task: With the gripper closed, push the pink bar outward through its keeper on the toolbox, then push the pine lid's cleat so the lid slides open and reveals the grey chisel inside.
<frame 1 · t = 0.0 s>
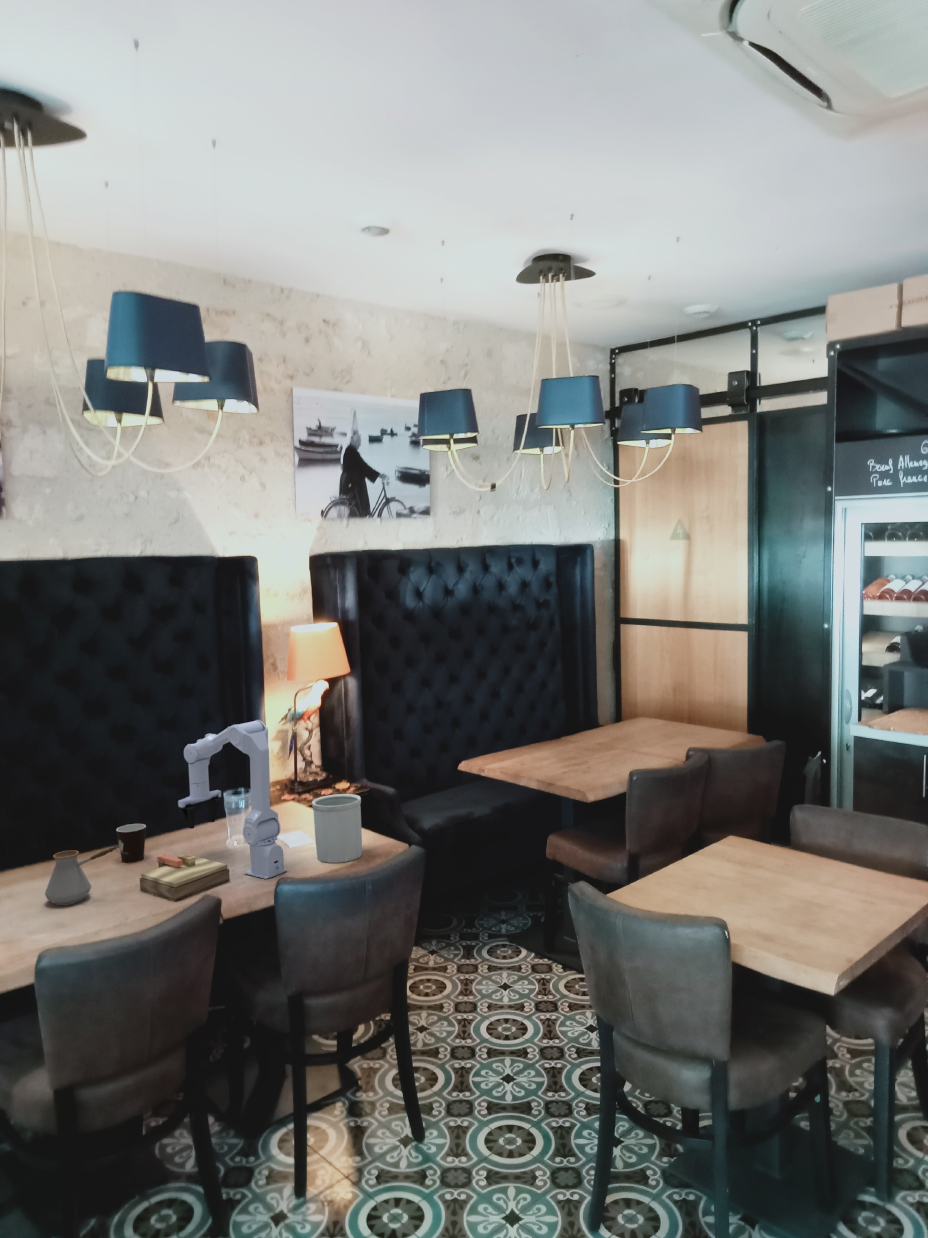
hand: (201, 825, 269), 10 cm above the table, fingers open, 7 cm apart
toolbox: (185, 886, 244), on the table
pink bar: (170, 860, 247), point 6 cm above the table, slide at 0.0 cm
utensil holder: (339, 856, 265), on the table
coffee pot: (86, 901, 236), on the table
coffee mug: (133, 858, 271), on the table
lid: (184, 867, 244), point 5 cm above the table, slide at 0.0 cm
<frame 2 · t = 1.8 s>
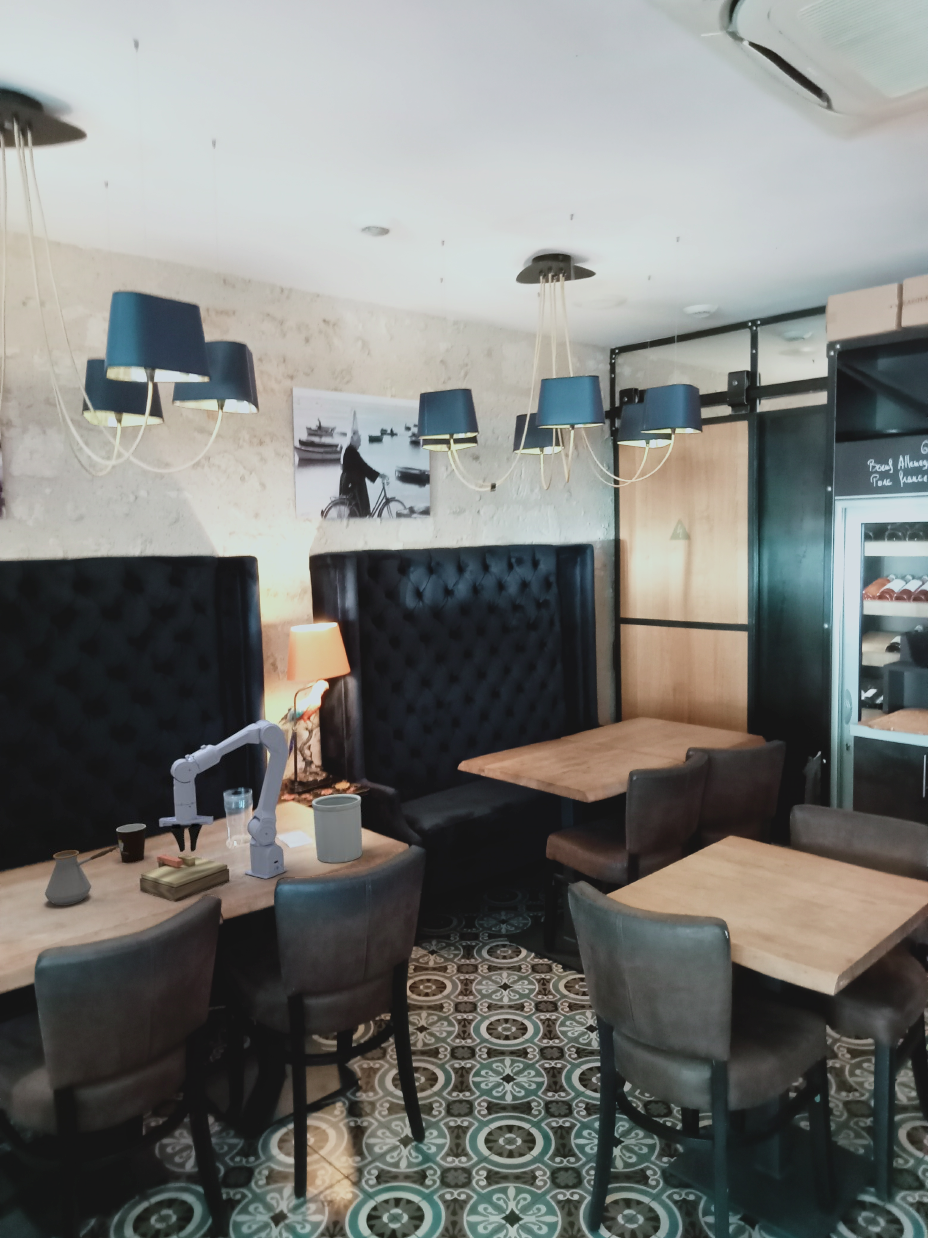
hand: (187, 850, 242), 10 cm above the table, fingers closed
nothing on the table moved.
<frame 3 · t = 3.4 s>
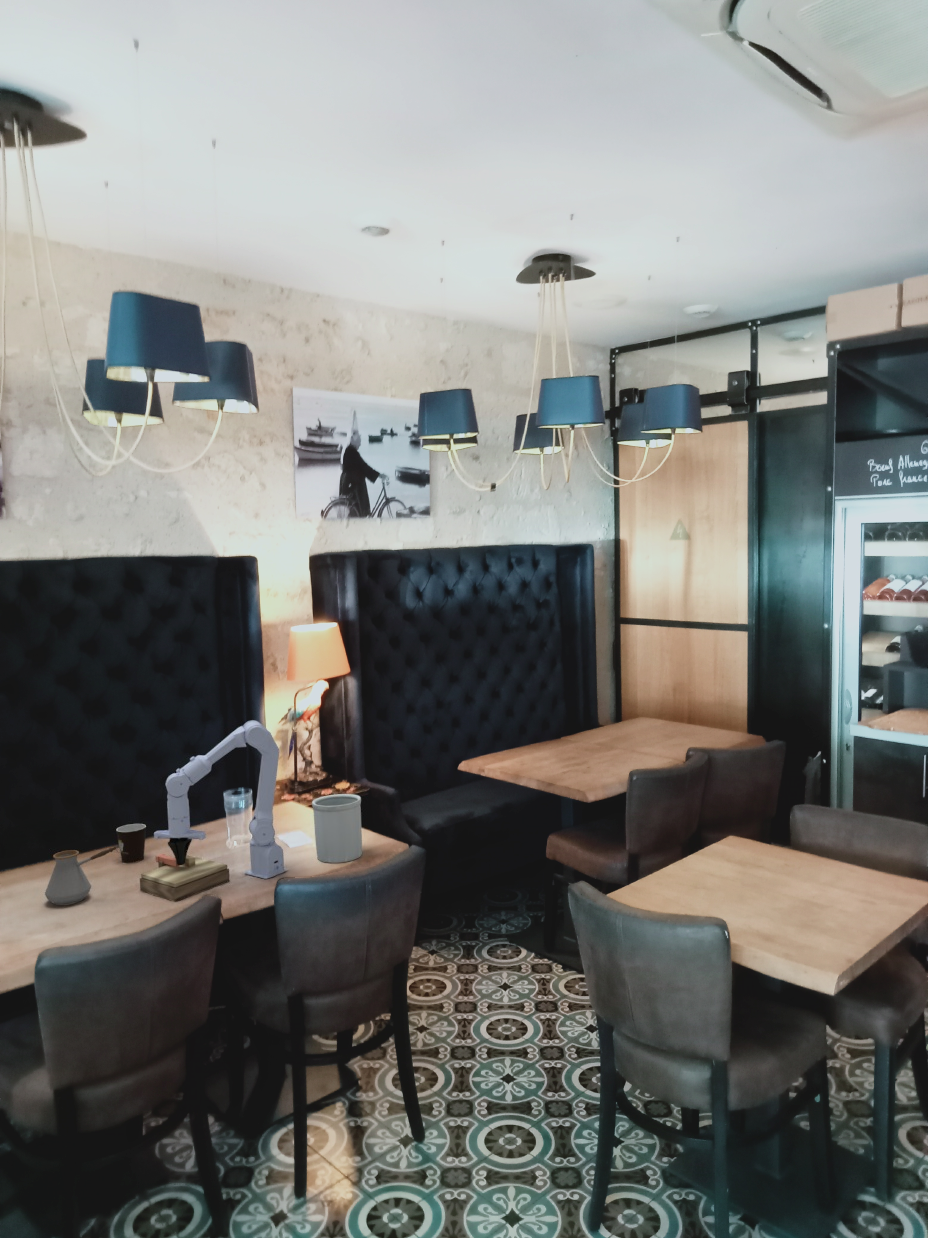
hand: (181, 864, 244), 6 cm above the table, fingers closed
pink bar: (168, 860, 248), point 6 cm above the table, slide at 0.6 cm, touching gripper
everything else where it was.
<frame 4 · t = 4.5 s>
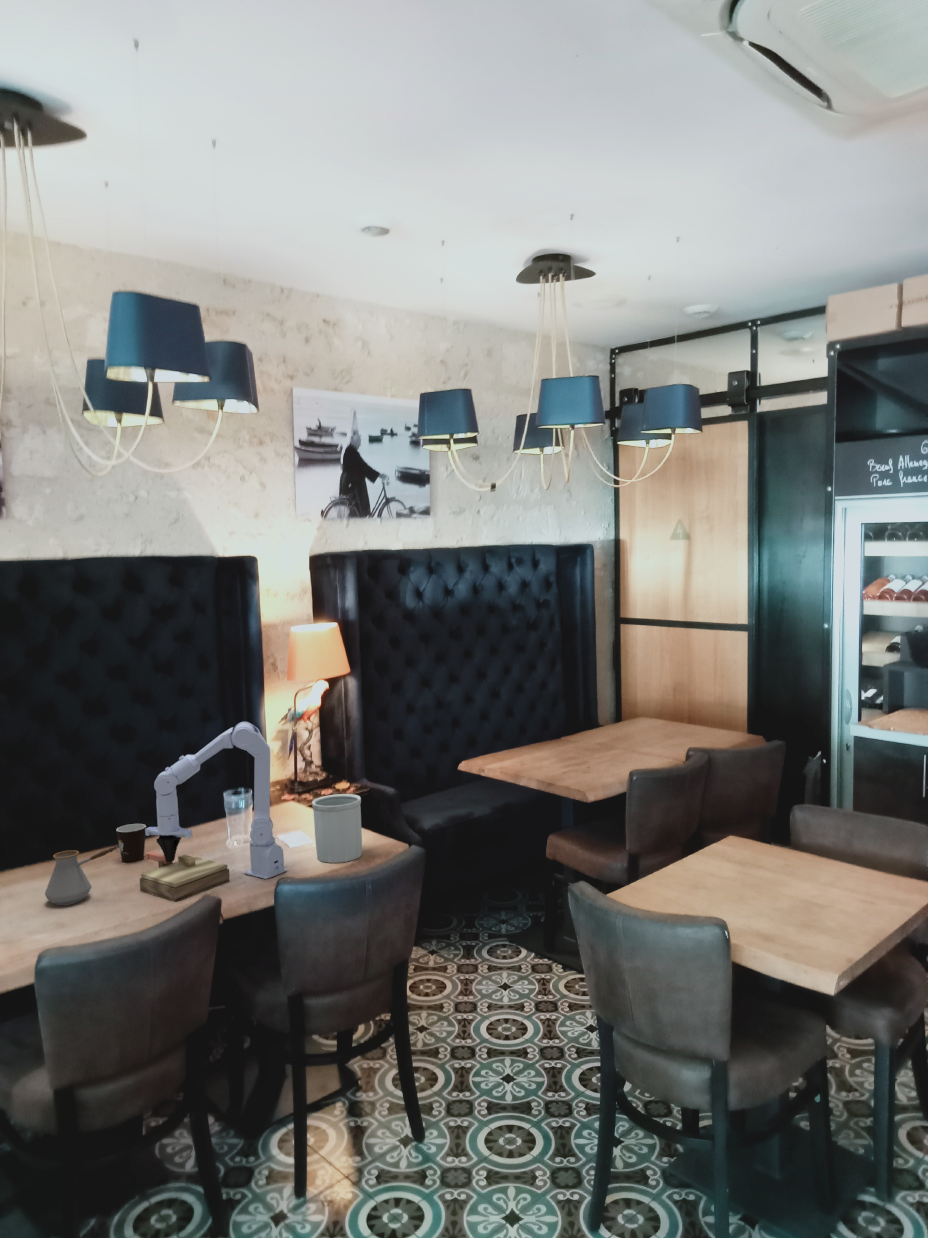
hand: (170, 861, 247), 6 cm above the table, fingers closed
pink bar: (158, 857, 251), point 6 cm above the table, slide at 5.6 cm, touching gripper
everything else where it was.
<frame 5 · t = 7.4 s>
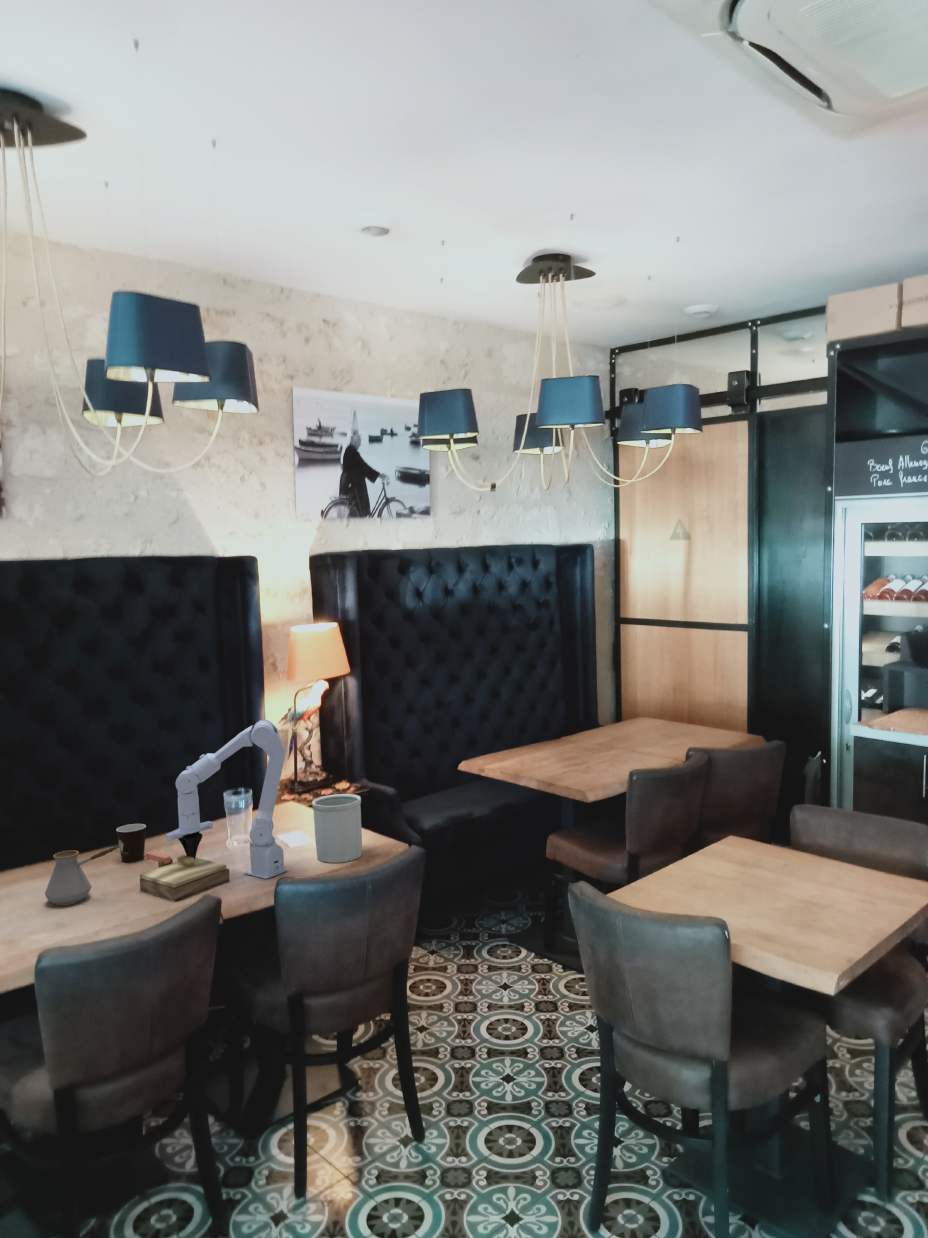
hand: (191, 859, 249), 6 cm above the table, fingers closed
pink bar: (158, 857, 251), point 6 cm above the table, slide at 5.7 cm
lid: (183, 867, 243), point 5 cm above the table, slide at 0.4 cm, touching gripper
everything else where it was.
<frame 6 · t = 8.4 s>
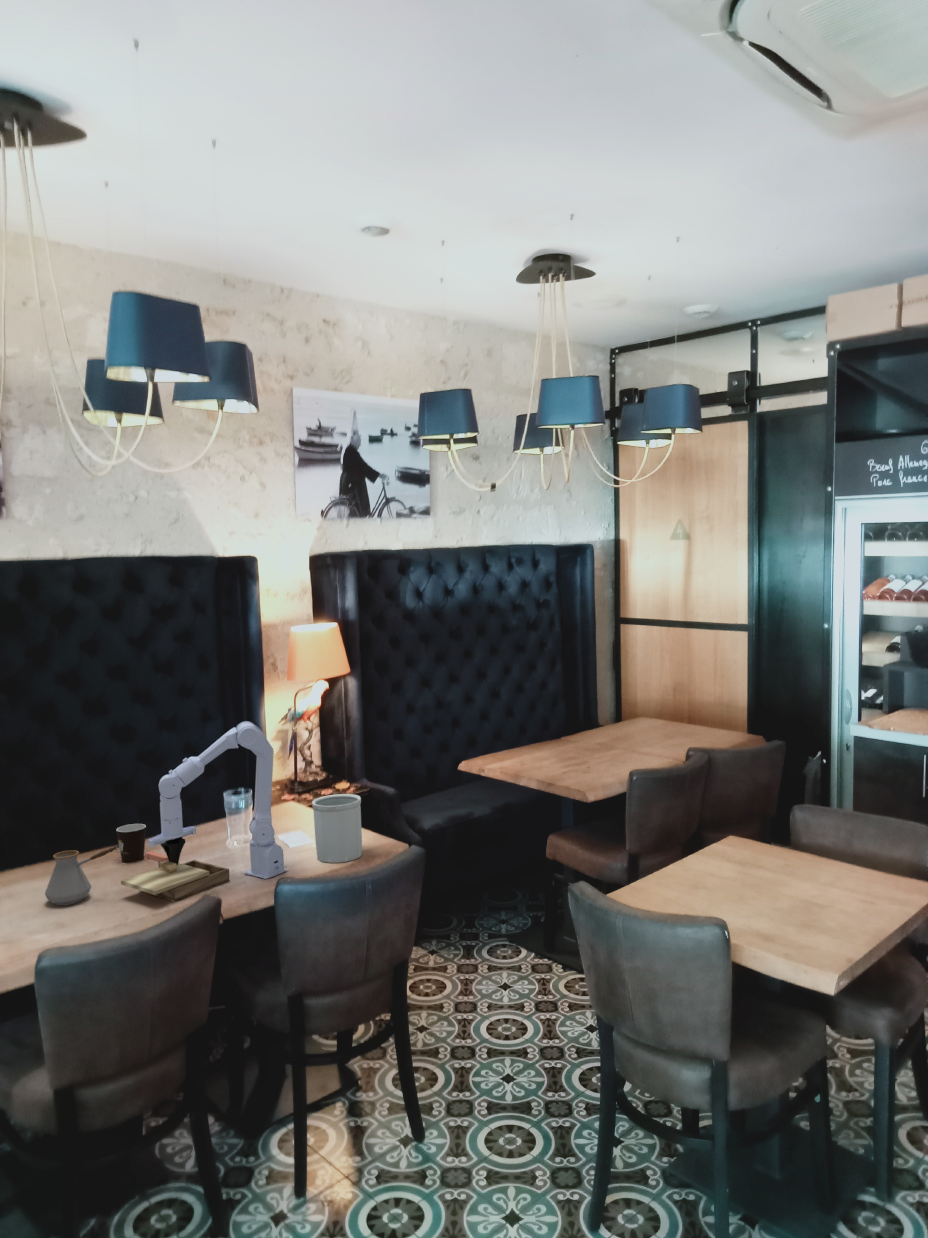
hand: (174, 865, 244), 6 cm above the table, fingers closed
lid: (165, 873, 239), point 5 cm above the table, slide at 6.2 cm, touching gripper
everything else where it was.
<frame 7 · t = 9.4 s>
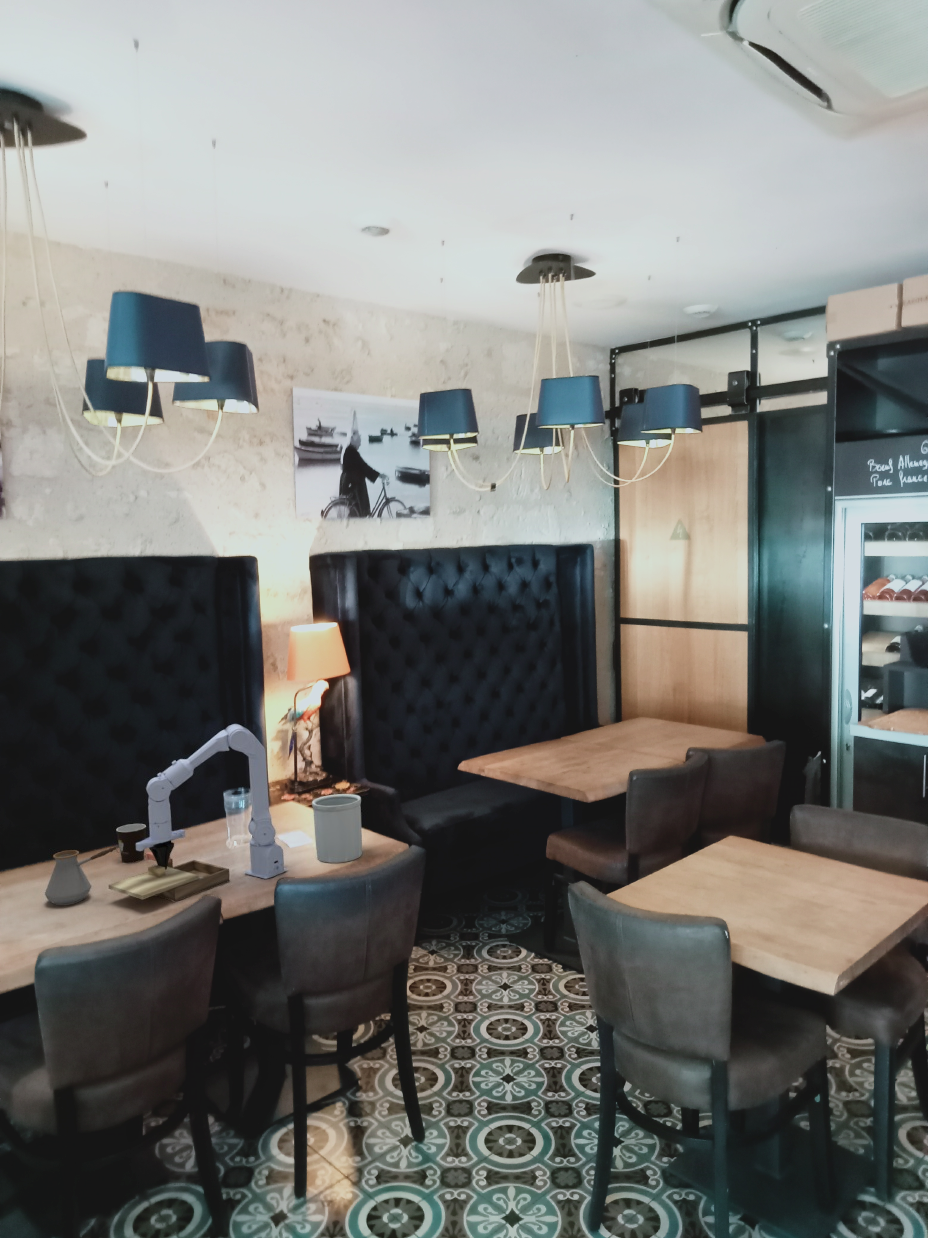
hand: (162, 869, 241), 6 cm above the table, fingers closed
lid: (153, 878, 236), point 5 cm above the table, slide at 9.9 cm, touching gripper
everything else where it was.
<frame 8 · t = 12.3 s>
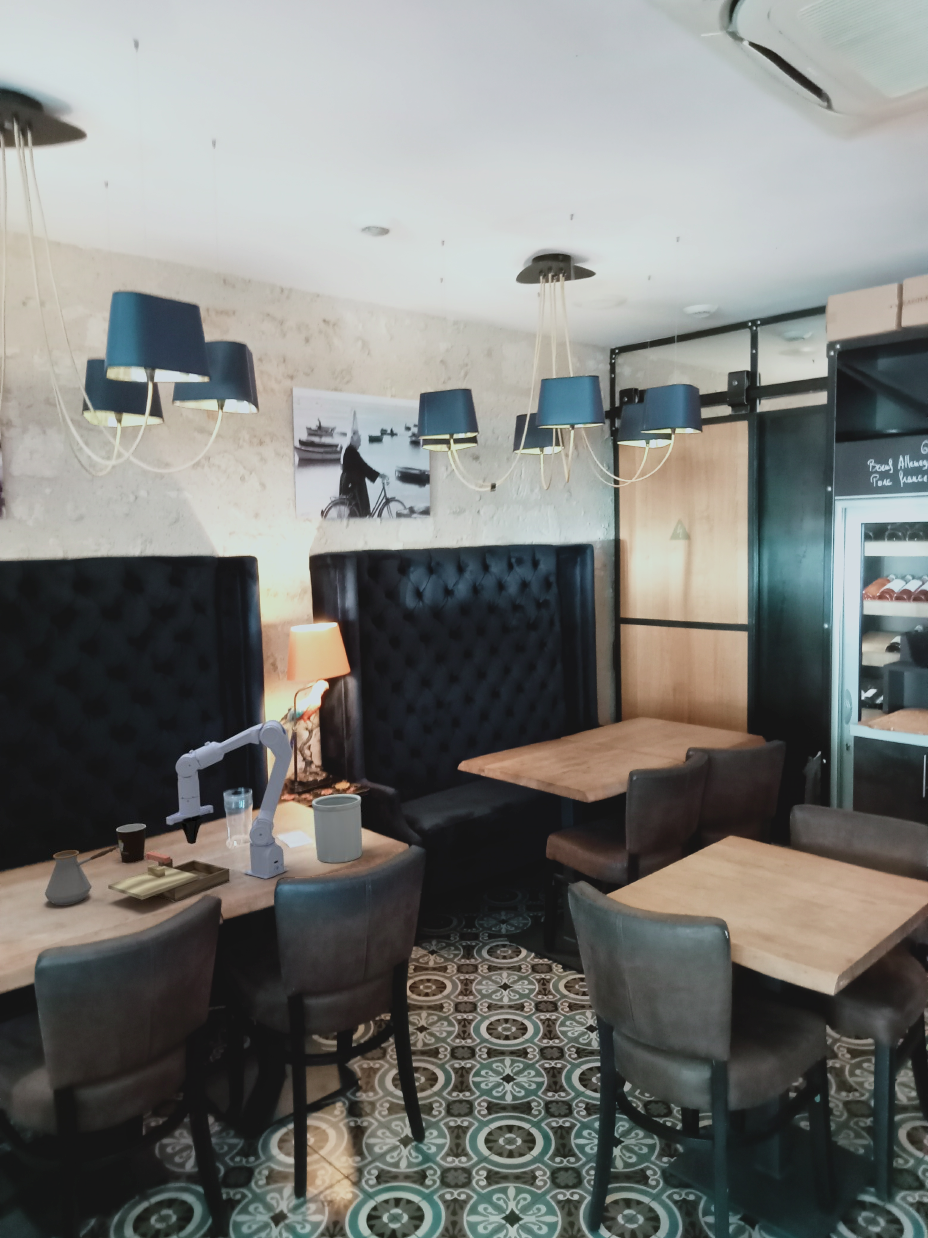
hand: (191, 843, 249), 10 cm above the table, fingers closed
lid: (153, 878, 236), point 5 cm above the table, slide at 10.0 cm
everything else where it was.
at the end: pink bar slide at 5.7 cm; lid slide at 10.0 cm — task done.
